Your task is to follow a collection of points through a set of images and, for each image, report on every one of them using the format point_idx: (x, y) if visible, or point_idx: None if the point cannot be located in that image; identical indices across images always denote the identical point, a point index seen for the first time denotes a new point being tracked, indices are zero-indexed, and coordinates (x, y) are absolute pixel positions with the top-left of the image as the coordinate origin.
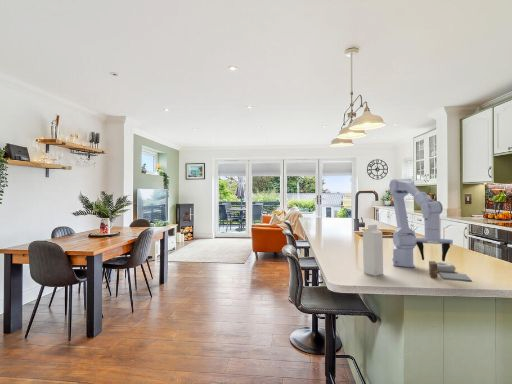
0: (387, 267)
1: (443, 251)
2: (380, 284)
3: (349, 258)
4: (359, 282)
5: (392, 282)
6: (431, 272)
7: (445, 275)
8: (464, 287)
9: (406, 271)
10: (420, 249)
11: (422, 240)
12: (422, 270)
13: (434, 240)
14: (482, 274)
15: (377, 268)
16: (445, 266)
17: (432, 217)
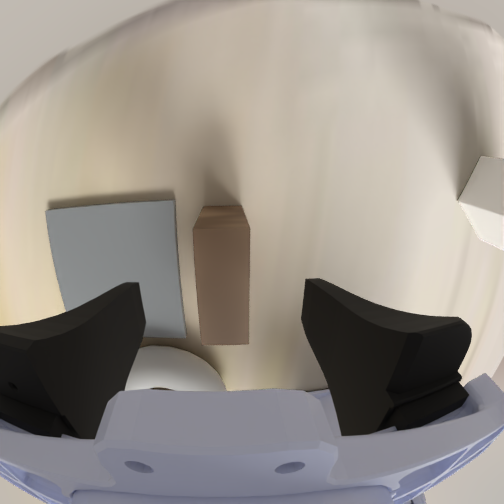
0: None
1: (88, 320)
2: (451, 33)
3: None
4: (493, 61)
5: (427, 56)
6: (240, 211)
7: (153, 265)
8: (100, 63)
9: None
10: (394, 314)
11: (450, 426)
12: (266, 361)
13: (166, 444)
14: None
15: (496, 174)
16: (147, 369)
17: None
